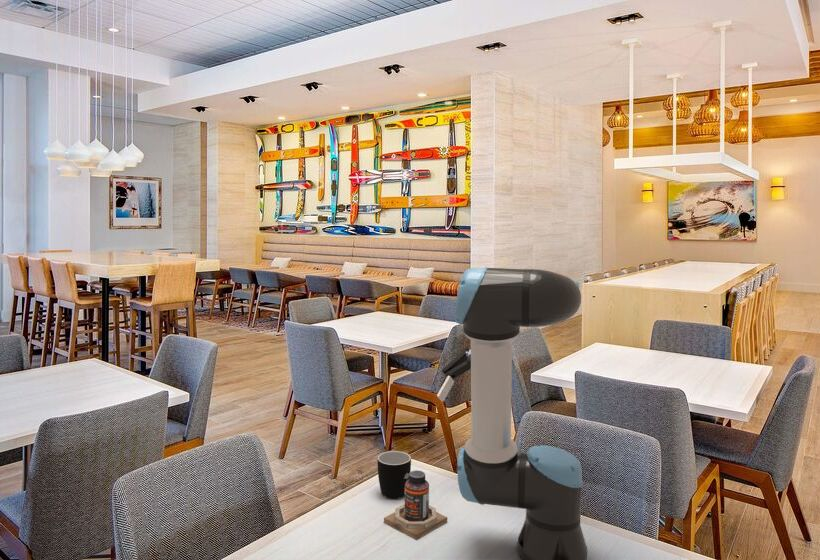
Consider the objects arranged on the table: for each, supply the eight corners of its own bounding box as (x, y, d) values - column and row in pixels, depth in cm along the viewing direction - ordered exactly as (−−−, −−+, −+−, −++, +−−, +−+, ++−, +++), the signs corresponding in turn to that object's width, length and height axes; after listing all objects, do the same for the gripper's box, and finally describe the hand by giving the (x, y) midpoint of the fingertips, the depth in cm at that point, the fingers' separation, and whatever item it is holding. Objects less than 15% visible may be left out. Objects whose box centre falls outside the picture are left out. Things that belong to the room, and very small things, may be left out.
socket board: (447, 521, 143) (447, 512, 143) (416, 539, 135) (416, 530, 135) (414, 506, 150) (414, 497, 150) (383, 522, 142) (383, 513, 142)
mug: (407, 503, 152) (407, 466, 151) (373, 499, 154) (373, 463, 153) (415, 482, 164) (415, 447, 163) (384, 479, 165) (384, 445, 164)
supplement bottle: (400, 521, 141) (400, 476, 140) (410, 509, 146) (410, 466, 145) (423, 526, 139) (423, 480, 137) (432, 514, 144) (432, 470, 143)
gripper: (539, 354, 155) (505, 423, 145) (465, 340, 172) (430, 401, 163) (529, 337, 150) (493, 408, 141) (453, 324, 167) (417, 386, 158)
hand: (459, 404), depth 152 cm, fingers open, 13 cm apart
